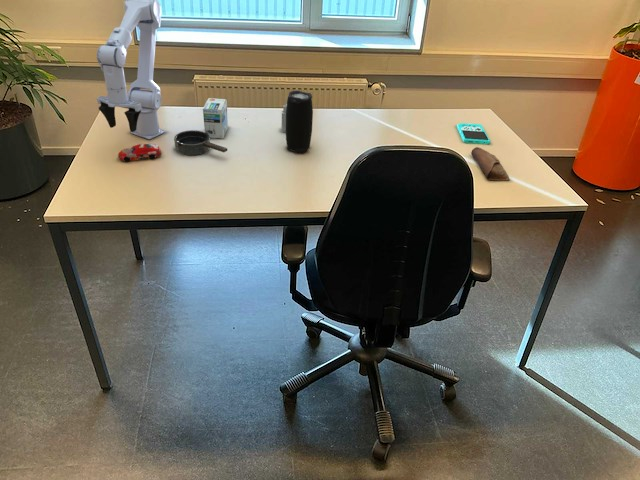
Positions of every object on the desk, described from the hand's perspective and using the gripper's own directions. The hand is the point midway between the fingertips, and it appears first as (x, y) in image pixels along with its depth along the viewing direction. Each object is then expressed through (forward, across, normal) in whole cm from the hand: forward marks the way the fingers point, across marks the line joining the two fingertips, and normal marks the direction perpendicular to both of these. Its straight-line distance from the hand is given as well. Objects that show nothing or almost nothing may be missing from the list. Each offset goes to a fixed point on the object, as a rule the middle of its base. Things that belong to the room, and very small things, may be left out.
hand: (123, 128), depth 167 cm
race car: (+9, +5, 0) cm, 10 cm away
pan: (+9, +17, +12) cm, 23 cm away
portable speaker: (+9, +50, +27) cm, 57 cm away
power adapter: (+8, +41, +40) cm, 58 cm away
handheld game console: (+8, +106, +68) cm, 126 cm away
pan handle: (+6, +27, +10) cm, 29 cm away
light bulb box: (+9, +18, +28) cm, 34 cm away
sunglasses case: (+9, +114, +42) cm, 122 cm away
